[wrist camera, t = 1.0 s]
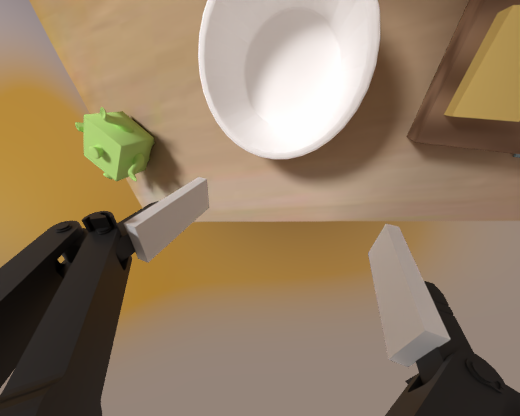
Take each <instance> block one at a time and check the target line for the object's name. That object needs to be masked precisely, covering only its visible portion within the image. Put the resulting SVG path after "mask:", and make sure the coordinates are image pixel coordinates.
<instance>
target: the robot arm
mask: <svg viewBox="0 0 520 416" xmlns="http://www.w3.org/2000/svg"><path fill="white" fill-rule="evenodd" d="M208 208H209V199H208V187H207V179H205V178H201V177H198V178H196V179H194V180H193V181H191V182H190V183H188V184H186V185H185V186H183V187H181V188H180V189H178V190H177V191H175V192H173V193H172V194H170V195H169V196H167V197H165V198H164V199H162V200H160V201H157V202H154V203H151V204H149V205H147V206H145V207H144V208H143V209H140V210H139V211H138V212H135V213H134V214H132V215H131V216H129V217H127V218H126V219H124V220H122V221H121V222H119V223H116V220H115V218H114V216H113V214H112V213H111V212H108V211H100V212H95V213H92V214H90V215H88V216H86V217H84V218H83V219H82V222H83V224H84V225H85V227H86V229H85V228H82V227H81V225H80V224H79V222H77V221H65V222H61V223H58V224H56V225H54V226H52V227H51V228H49V229H48V230H47V231H46V232H44V233H43V234H42V235H41V236H39V237H38V238H37V239H36V240H34V241H33V242H32V243H31V244H29V245H28V246H27V247H26V248H25V249H23V250H22V251H21V252H20V253H18V254H17V255H16V256H15V257H13V258H12V259H11V260H10V261H9V262H7V263H6V264H5V265H4V266H2V267H1V268H0V388H1V386H2V385H3V384H4V382H5V381H6V380H7V378H8V377H9V376H10V374H11V373H12V371H13V370H14V369H15V370H14V372H13V374H12V375H11V377H10V379H9V381H8V383H7V385H6V387H5V388H4V390H3V392H2V394H1V395H0V416H102V410H101V395H102V390H103V386H104V381H105V377H106V372H107V368H108V364H109V359H110V355H111V350H112V346H113V341H114V337H115V332H116V328H117V324H118V319H119V315H120V310H121V306H122V302H123V297H124V293H125V288H126V284H127V279H128V275H129V271H130V266H131V262H132V257H131V255H132V254H133V253H134V252H136V254H137V257H138V259H141V260H143V261H146V262H149V261H150V260H151V259H152V258H154V257H155V256H156V255H157V254H158V253H159V252H160V251H161V250H162V249H163V248H165V247H166V246H167V245H168V244H169V243H170V242H171V241H172V240H173V239H175V238H176V237H177V236H178V235H179V234H180V233H181V232H182V231H184V230H185V229H186V228H187V227H188V226H189V225H190V224H191V223H192V222H194V221H195V220H196V219H197V218H198V217H199V216H200V215H201V214H202V213H203V212H205V211H206V210H207V209H208ZM61 255H62V256H63V257H64V259H65V260H64V261H63V262H62V263H59V261H58V260H57V259H58V258H59V257H60V256H61ZM368 256H369V261H370V266H371V271H372V277H373V282H374V287H375V292H376V297H377V303H378V308H379V313H380V318H381V324H382V329H383V334H384V339H385V344H386V349H387V355H388V359H389V360H391V361H394V362H396V363H399V364H401V365H404V366H406V367H409V366H411V365H412V364H414V363H415V362H416V363H417V367H418V370H419V373H418V374H417V375H415V376H414V377H412V378H410V379H408V380H407V381H406V382H407V384H408V386H407V387H406V388H405V390H404V391H403V392H402V394H401V395H400V396H399V398H398V399H397V400H396V402H395V403H394V404H393V406H392V407H391V408H390V410H389V411H388V413H387V414H386V415H385V416H520V393H518V392H517V391H515V390H514V389H512V388H510V387H509V386H507V385H505V383H504V381H503V379H502V378H501V377H500V375H499V374H498V373H497V372H496V370H495V369H494V368H493V367H492V366H490V365H489V364H488V363H487V362H486V361H485V360H484V359H482V358H481V357H479V356H478V355H476V354H474V352H473V351H472V349H471V347H470V345H469V343H468V341H467V339H466V337H465V335H464V333H463V331H462V329H461V328H460V326H459V324H458V322H457V320H456V318H455V317H454V316H453V312H452V310H451V309H450V307H448V303H447V301H446V299H445V297H444V295H443V294H442V293H441V291H440V290H439V289H438V288H437V287H436V286H435V285H434V284H433V283H429V282H426V281H424V280H423V278H422V276H421V274H420V272H419V269H418V267H417V265H416V263H415V261H414V258H413V256H412V255H411V252H410V250H409V248H408V246H407V243H406V241H405V239H404V237H403V235H402V232H401V230H400V228H399V227H397V226H393V225H389V224H385V226H384V227H383V229H382V231H381V232H380V234H379V236H378V237H377V239H376V241H375V242H374V244H373V246H372V247H371V249H370V251H369V252H368Z"/></svg>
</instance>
